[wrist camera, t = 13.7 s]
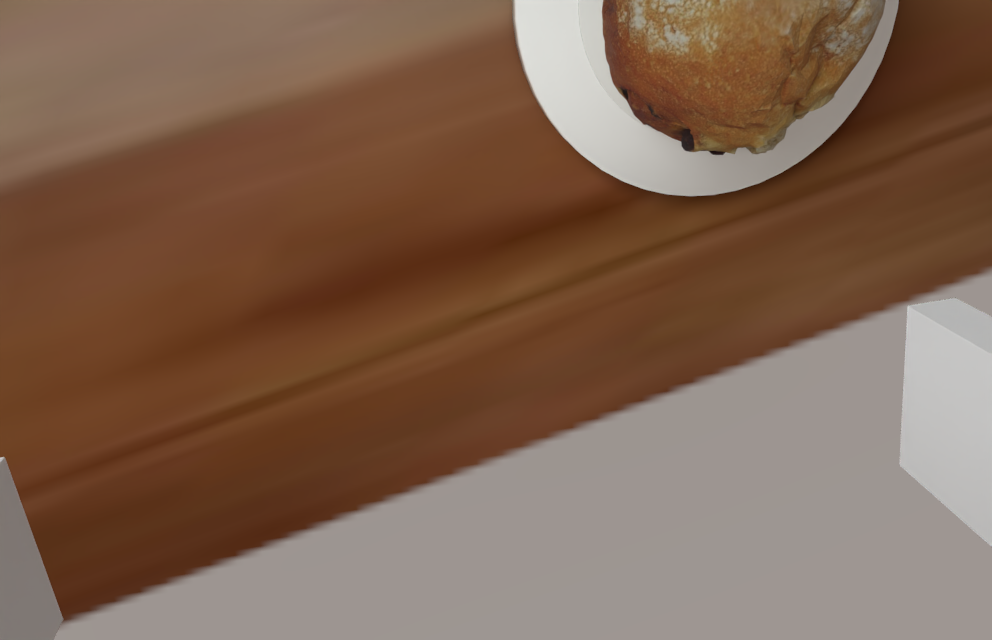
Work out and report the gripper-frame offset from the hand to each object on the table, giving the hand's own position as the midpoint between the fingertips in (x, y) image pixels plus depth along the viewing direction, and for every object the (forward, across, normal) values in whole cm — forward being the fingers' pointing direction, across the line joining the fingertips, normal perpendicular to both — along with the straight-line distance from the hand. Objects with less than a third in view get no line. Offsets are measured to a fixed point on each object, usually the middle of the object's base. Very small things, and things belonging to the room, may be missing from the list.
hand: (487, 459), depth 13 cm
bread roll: (+23, +12, +4) cm, 26 cm away
